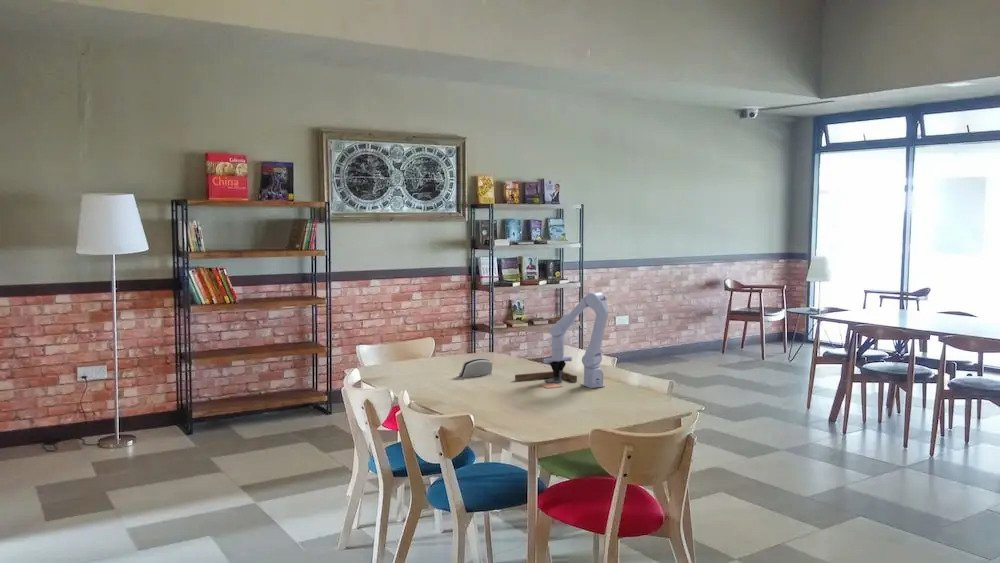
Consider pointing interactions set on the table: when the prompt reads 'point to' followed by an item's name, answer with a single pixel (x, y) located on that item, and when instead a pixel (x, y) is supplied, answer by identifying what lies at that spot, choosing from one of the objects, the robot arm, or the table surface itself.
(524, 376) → the brown wooden l-shape
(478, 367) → the grey curved-top block
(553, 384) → the pad
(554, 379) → the bracket
